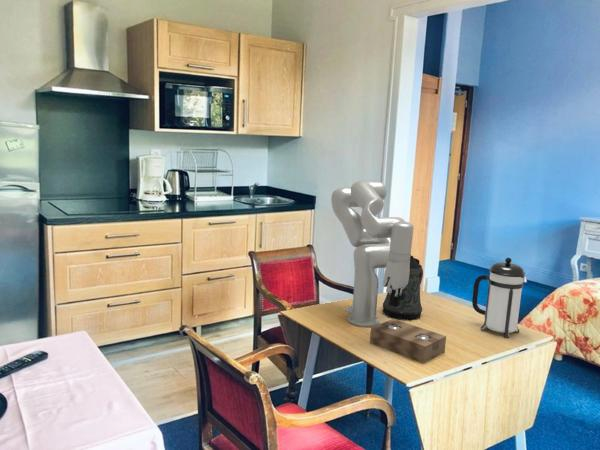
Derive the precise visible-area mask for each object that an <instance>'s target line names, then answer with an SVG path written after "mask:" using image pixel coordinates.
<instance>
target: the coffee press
mask: <svg viewBox="0 0 600 450" xmlns="http://www.w3.org/2000/svg"><path fill="white" fill-rule="evenodd" d="M504 260H505V261H504V262H503V261H502V262H500V261H499V262H495V263H493V264H492V265H491V267H490V268H489V275H487V274H483V275H479V276H478V277H476V279H475V280H474V284H473V289H472V299H471V303H472V307H473V309H474V311H475V312H477V313H478V314H480V315H483V316H484V322H483V324H482V325H481V327H480V330H481V331H482V332H486V331H487V330H490V331H494V332H497V333H502V334H503V338H504V339H509V337H510V333H514V332H515V333H516V334H519V333H520V329H519V327H518V323H519V313H520V306H521V300H522V299H521V297H522V291H523V288H524V283H527V277H526V272H525V271H524V268H523V267H522V266H521V265H518V264H515V263H512V258H510V257H506V258H505V259H504ZM481 281H488V289H487V296H486V305H485V310H483V309H481V308H480V306H478V299H479V298H478V297H479V288H480V283H481ZM484 327H485V328H484Z"/></svg>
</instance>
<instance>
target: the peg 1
mask: <svg viewBox="0 0 600 450" xmlns="http://www.w3.org/2000/svg"><path fill="white" fill-rule="evenodd" d="M388 328H391V329H394V330H397V329H399V326H397V325H389V326H388Z"/></svg>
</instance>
